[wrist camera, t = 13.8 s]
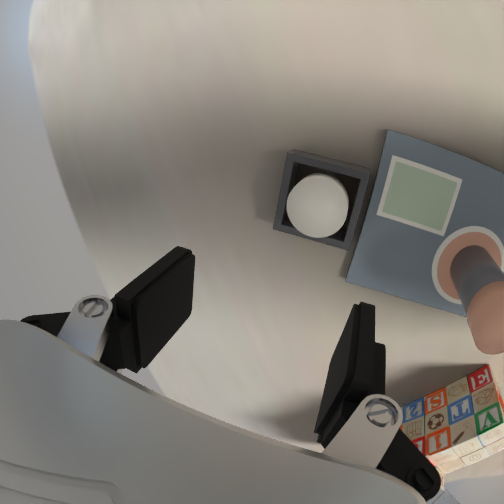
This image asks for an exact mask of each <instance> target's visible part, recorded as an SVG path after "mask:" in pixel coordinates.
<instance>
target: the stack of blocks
mask: <svg viewBox="0 0 504 504" xmlns="http://www.w3.org/2000/svg"><path fill="white" fill-rule="evenodd" d="M400 408H401V410H402V412H403V420H402V423H401V425H400V427H399V428H400V429H401V430H402V431H403V432H404V434H405V435H406V436H407V437H408V438H409V439H410V440H411V441H412V442H413V444H414V445H415V446H416V447H417V448H418V449H419V450H420V451H421V452H422V454H423V455H424V456H425V457H426V458H427V459H428V460H429V461H430V462H431V464H432V465H433V466H434V467H435V468H436V469H437V471H438V472H439V474H440V478H441V487H440V488H441V489H442V490H443V491H444V474H447V473H449V472H452V471H455V470H457V469H460V468H462V467H465V466H468V465H471V464H473V463H475V462H478V461H480V460H482V459H485V458H487V457H489V456H490V455H493V454H495V453H497V452H499V451H502V450H504V401H503V397H502V394H501V391H500V388H499V386H498V383H497V381H496V379H495V376H494V374H493V371H492V369H491V367H490V366H489V364H487V365H486V366H484V367H482V368H481V369H479V370H477V371H475V372H474V373H472V374H470V375H468V376H465V377H463V378H461V379H459V380H457V381H455V382H453V383H452V384H450V385H448V386H446V387H444V388H441V389H439V390H437V391H435V392H433V393H431V394H429V395H426V396H425V397H423V398H421V399H418V400H416V401H414V402H412V403H409V404H407V405H405V406H403V407H400Z"/></svg>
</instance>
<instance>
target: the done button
mask: <svg viewBox="0 0 504 504" xmlns="http://www.w3.org/2000/svg"><path fill="white" fill-rule="evenodd" d="M348 206H349V197H348V193H347V190H346V188H345V187H344V185H343V184H342V183H341V182H340V181H339V180H338V179H337V178H335V177H334V176H332V175H329V174H326V173H313V174H310V175H308V176H306V177H304V178H303V179H302V180H301V181H299V183H298V184H297V185H296V186H295V187H294V188H293V189H292V190H291V192H290V194H289V196H288V199H287V214H288V217H289V219H290V221H291V223H292V224H293V226H294V227H295V228H296V229H297V230H298V231H300V232H301V233H303V234H305V235H307V236H310V237H315V238H322V237H327V236H330V235H332V234H334V233H336V232H337V231H338V230H339V229H340V228H341V227H342V226H343V224H344V222H345V220H346V217H347V212H348Z"/></svg>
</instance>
